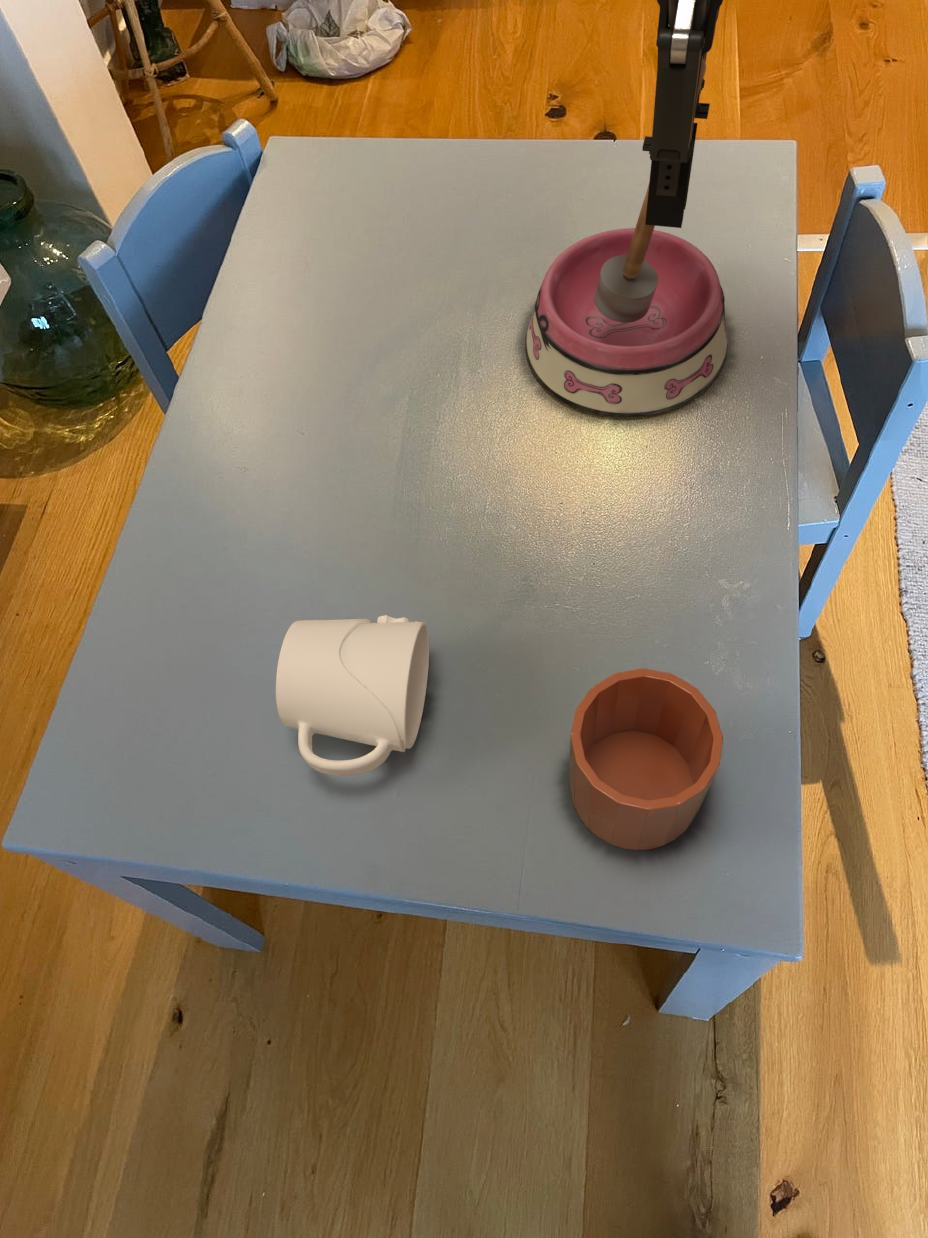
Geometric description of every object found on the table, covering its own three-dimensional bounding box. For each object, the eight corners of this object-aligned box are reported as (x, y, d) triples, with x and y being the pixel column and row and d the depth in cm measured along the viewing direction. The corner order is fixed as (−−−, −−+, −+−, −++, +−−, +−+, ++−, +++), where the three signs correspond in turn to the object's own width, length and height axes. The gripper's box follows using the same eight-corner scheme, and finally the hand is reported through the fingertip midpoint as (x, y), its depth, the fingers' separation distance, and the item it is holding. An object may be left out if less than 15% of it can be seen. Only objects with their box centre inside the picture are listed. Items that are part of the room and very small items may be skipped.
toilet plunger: (653, 288, 80) (739, 45, 61) (644, 328, 78) (729, 89, 59) (599, 274, 80) (668, 27, 61) (588, 314, 78) (656, 71, 59)
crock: (708, 740, 68) (730, 684, 59) (690, 863, 64) (711, 823, 55) (583, 715, 69) (587, 657, 61) (558, 833, 65) (558, 790, 57)
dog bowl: (513, 287, 91) (510, 228, 85) (702, 260, 91) (713, 199, 85) (540, 433, 82) (538, 379, 76) (749, 404, 82) (764, 348, 76)
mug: (319, 640, 74) (294, 591, 67) (434, 649, 73) (421, 600, 66) (286, 784, 69) (255, 746, 62) (409, 797, 68) (392, 760, 61)
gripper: (660, -225, 54) (631, 148, 74) (618, -93, 47) (599, 275, 68) (794, -225, 52) (727, 156, 73) (769, -89, 46) (703, 285, 67)
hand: (665, 213), depth 71 cm, fingers closed on toilet plunger
